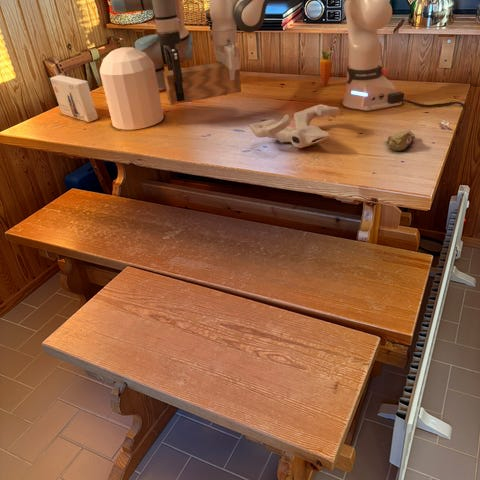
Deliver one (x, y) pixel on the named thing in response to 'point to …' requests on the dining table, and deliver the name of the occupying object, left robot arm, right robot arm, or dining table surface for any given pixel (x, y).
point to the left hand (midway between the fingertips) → (178, 98)
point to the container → (131, 89)
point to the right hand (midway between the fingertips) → (228, 77)
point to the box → (203, 82)
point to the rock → (400, 140)
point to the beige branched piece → (297, 127)
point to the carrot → (325, 67)
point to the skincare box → (74, 97)
